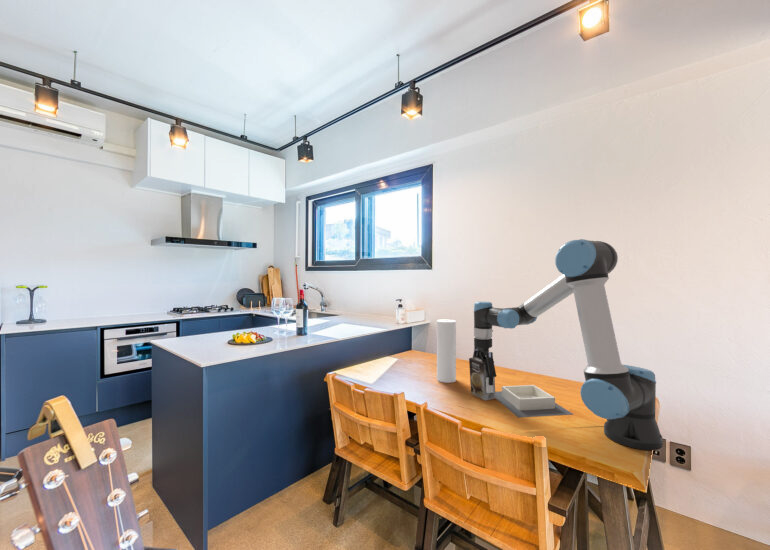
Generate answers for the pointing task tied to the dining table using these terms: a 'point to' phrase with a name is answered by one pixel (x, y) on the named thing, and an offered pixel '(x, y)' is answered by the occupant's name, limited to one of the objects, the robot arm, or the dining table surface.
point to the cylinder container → (446, 350)
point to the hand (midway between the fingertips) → (483, 386)
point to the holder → (528, 397)
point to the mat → (531, 413)
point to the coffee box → (479, 379)
